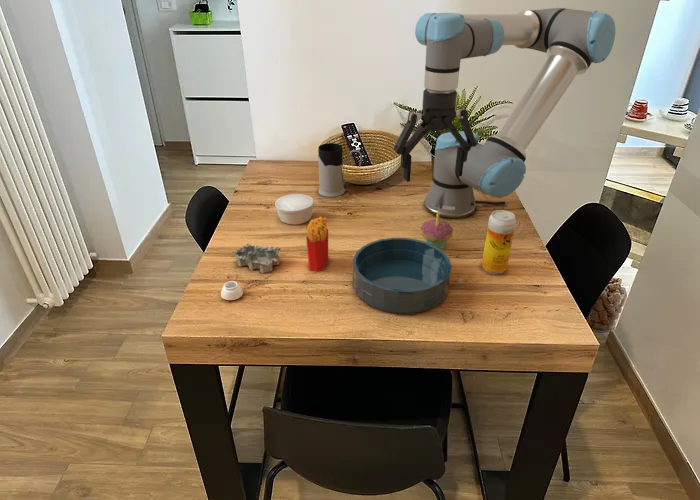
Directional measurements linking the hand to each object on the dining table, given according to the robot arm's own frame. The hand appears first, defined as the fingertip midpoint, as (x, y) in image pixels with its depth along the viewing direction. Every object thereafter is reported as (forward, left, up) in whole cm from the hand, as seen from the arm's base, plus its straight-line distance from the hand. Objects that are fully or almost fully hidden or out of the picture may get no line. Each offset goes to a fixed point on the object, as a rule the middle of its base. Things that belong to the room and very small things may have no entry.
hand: (432, 176), depth 123 cm
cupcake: (-2, +1, -20) cm, 20 cm away
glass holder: (+15, -39, -20) cm, 47 cm away
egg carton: (+45, -2, -20) cm, 49 cm away
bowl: (+13, +16, -20) cm, 28 cm away
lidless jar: (+52, +10, -20) cm, 56 cm away
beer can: (-12, +15, -20) cm, 28 cm away
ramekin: (+32, -24, -20) cm, 45 cm away
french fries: (+30, +2, -20) cm, 36 cm away
